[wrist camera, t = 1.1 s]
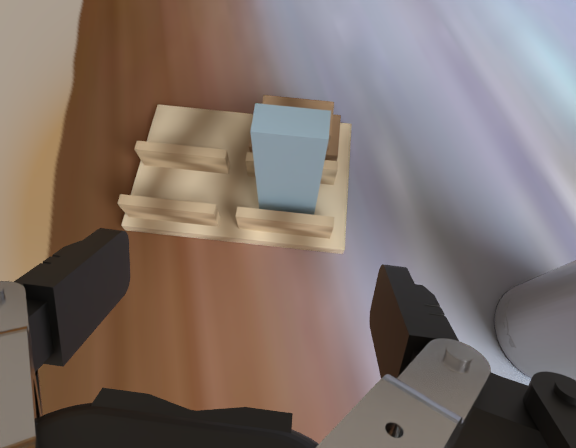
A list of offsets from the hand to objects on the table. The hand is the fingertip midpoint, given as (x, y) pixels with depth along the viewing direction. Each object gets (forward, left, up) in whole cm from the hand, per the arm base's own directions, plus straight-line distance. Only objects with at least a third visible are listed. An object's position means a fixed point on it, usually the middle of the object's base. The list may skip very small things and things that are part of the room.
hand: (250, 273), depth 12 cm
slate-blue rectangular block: (0, -14, -24) cm, 28 cm away
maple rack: (+5, -17, -25) cm, 31 cm away
